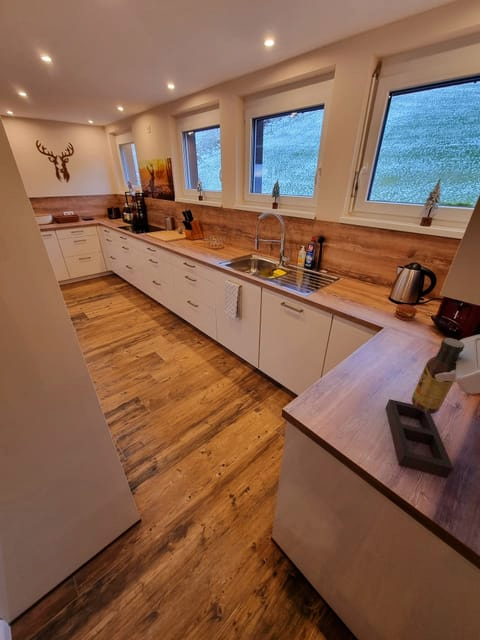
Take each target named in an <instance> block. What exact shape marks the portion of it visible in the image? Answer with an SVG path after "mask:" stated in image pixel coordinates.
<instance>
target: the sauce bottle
mask: <svg viewBox="0 0 480 640" xmlns="http://www.w3.org/2000/svg"><path fill="white" fill-rule="evenodd" d="M463 348H464V344H463V343H462V342H460V340H459V339H455V338H452V337H445V338H443V339H442V341H441V343H440V347H439V349H438V351H437V353H436V355H435V356H433V357H430V358H429V359H428V360H427V362H425V365H424V368H423V370H422V373H421V375H420V376H419V380H418V381H417V384H416V387H415V389H414V391H413V393H412V397H411V404H413V405H414V406H415V407H416V408H418V409H419V410H420V411H423V412H426V413H429V414H431V415H432V414H436V413H438V412H439V410H440V408H441V407H442V406H443V403H444V402H445V399H446V398H447V395H448V393H449V392H450V390H451V388H452V386H453V384H454V382H452V381H443V382H438V381H437V380H436V378H435V373H436V372H441V371H443V372H451V371H452V370H456V360H457V358H458V356H459V354H460V352H462V351H463Z"/></svg>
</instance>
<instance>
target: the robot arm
mask: <svg viewBox="0 0 480 640" xmlns="http://www.w3.org/2000/svg"><path fill="white" fill-rule="evenodd" d="M459 341H460V342H462V343H463V344H464V348H463V351H462V352H460V354H459V356H458V358H457V360H456V370H452V371H451V372H443V371H441V372H436V373H435V378H436V380H437V381H438V382H443V381H452V382H453V383H456V384H457V386H458V387H459V388H460V389H461V391H462V392H463V393H465V394H470V395H474V394H475V395H476V394H480V334H475V335H471V336H467V337H463V338H462V339H459Z"/></svg>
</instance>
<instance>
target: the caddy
mask: <svg viewBox="0 0 480 640" xmlns="http://www.w3.org/2000/svg"><path fill="white" fill-rule="evenodd" d="M385 412H386V417H387V420H388V425H389V429H390V433H391V438H392V441H393V446H394V450H395V454H396V459H397V463H398V466H400V467H404V468H409V469H411V470H414V471H418V472H422V473H425V474H429V475H432V476H436V477H439V478H444V479H448V477H449V476H450V475H451V474H452V472H453V471H454V466H453V464H452V462H451V461H452V460H451V459H450V457H449V454H448V451H447V449H446V446H445V445H444V442H443V439H442V438H441V435H440V433H439V430H438V428H437V426H436V423H435V421H434V418H433V416H432V414H429V413H426V412H423V411H420V410H419V409H418V408H416V407H415V406H414V405H413V403H408V402H405V401H400V400H396V399H388V401H387V404H386V405H385ZM401 416H403V417H407V418H411V419H415V420H418V421H419V424H420V427H418V426H414V425H410V424H406V423H402V420H401ZM407 441H412V442H415V443H419V444H423V445H427V447H428V449H429V452H430V454H431V456H427V455H424V454H420V453H416V452H412V451H410V449H409V446H408V445H409V444H408V442H407Z"/></svg>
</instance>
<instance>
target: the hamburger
mask: <svg viewBox="0 0 480 640" xmlns="http://www.w3.org/2000/svg"><path fill="white" fill-rule="evenodd" d="M393 311H395V312H394V317H395V318H397V319H398V320H400V321H404V322H405V321H406V322H413V321H414V319H415V316H416V314H418V313H420V312H419V311H418V310H417V308H416V307H414V306H413V305H410V304H406V303H404V304H403V303H402V304H398V305H397V306H396V307H395V308H393Z"/></svg>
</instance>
